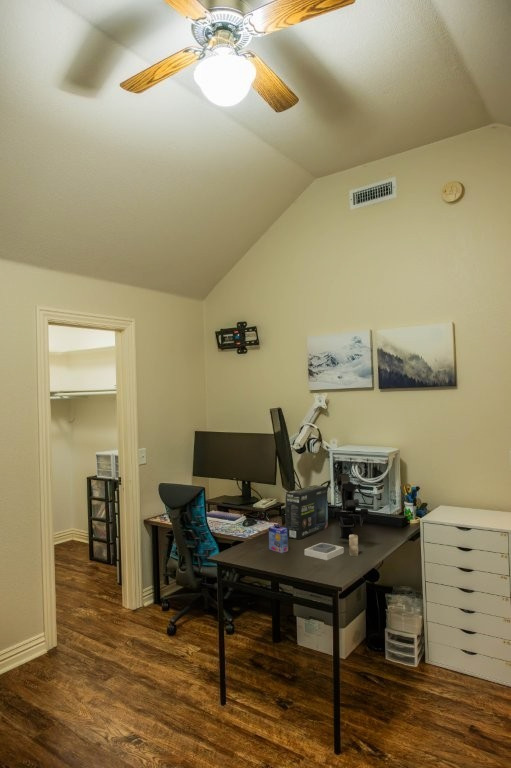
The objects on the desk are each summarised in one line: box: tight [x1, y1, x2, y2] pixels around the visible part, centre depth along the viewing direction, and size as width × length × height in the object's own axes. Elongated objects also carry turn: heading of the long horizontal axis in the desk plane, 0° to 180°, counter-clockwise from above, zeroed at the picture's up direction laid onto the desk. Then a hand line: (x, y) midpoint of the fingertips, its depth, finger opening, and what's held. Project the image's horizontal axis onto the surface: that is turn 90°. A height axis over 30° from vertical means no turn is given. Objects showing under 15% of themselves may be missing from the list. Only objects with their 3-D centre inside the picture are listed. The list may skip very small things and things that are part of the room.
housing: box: [304, 542, 345, 561], centre depth 252 cm, size 14×16×4 cm
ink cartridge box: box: [268, 523, 289, 554], centre depth 260 cm, size 10×6×14 cm, turn 45°
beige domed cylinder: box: [348, 534, 359, 557], centre depth 250 cm, size 4×4×10 cm
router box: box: [284, 484, 329, 540], centre depth 297 cm, size 36×11×27 cm, turn 144°
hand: (351, 527), depth 257 cm, fingers open, 9 cm apart
